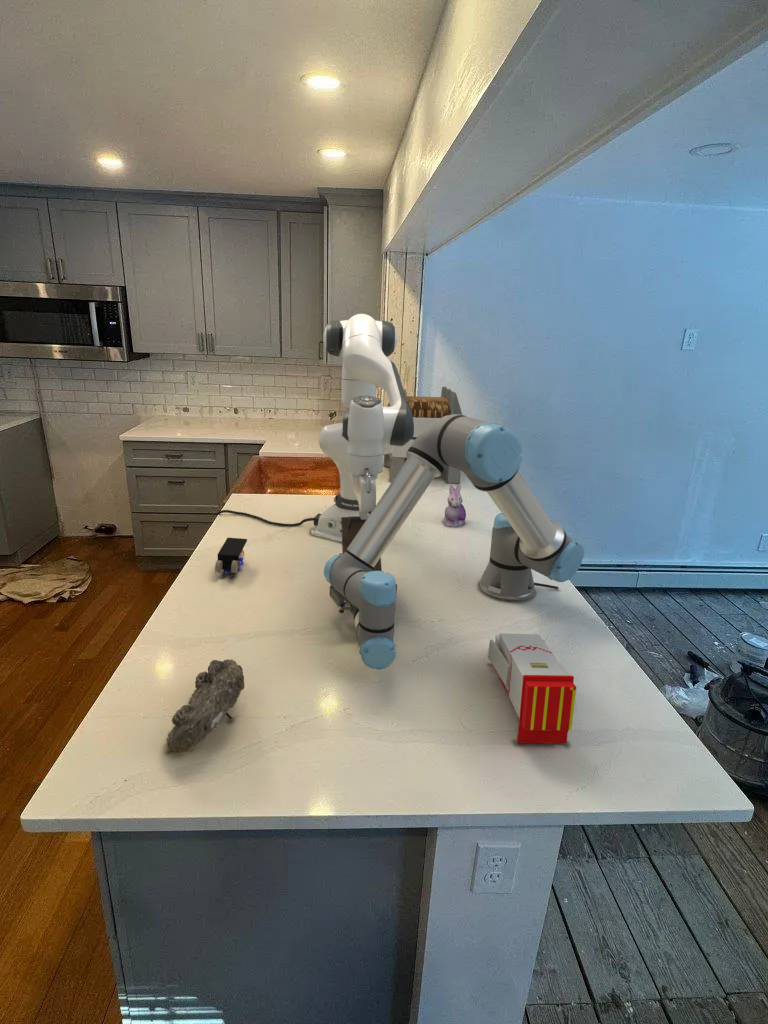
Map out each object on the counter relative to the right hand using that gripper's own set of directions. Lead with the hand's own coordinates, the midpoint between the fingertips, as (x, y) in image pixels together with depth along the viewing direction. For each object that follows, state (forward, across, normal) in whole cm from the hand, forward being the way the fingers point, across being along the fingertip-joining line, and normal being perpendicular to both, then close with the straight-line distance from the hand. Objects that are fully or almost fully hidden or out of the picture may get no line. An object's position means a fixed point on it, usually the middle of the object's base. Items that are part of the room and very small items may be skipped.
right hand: (360, 576), depth 152 cm
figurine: (+56, +42, -7) cm, 70 cm away
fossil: (-44, -33, -7) cm, 56 cm away
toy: (-44, +30, -7) cm, 53 cm away
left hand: (-2, 0, +18) cm, 18 cm away
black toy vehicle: (+20, -36, -7) cm, 41 cm away
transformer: (+123, +42, -7) cm, 130 cm away
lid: (+1, 0, +9) cm, 9 cm away
